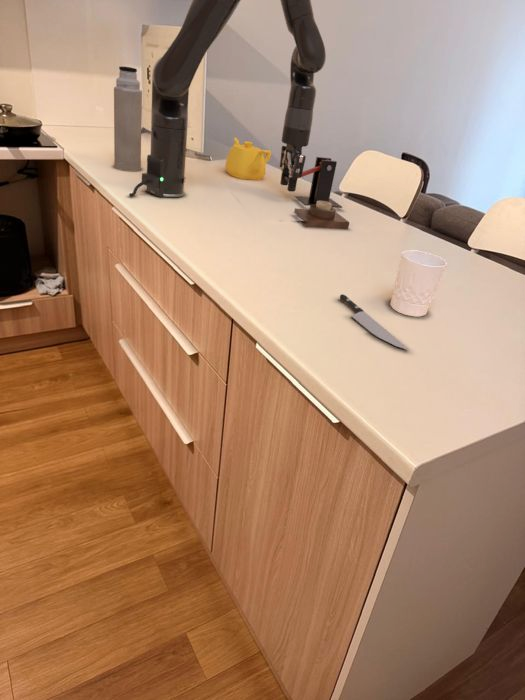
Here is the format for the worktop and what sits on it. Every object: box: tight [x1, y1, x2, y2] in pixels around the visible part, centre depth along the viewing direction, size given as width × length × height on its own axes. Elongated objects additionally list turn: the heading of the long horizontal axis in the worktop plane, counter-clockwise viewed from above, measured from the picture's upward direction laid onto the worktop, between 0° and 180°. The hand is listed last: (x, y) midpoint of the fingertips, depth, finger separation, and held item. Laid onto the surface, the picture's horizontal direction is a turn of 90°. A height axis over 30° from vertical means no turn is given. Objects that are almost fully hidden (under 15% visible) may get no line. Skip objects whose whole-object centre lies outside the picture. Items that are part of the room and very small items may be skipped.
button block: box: [293, 204, 350, 230], centre depth 135 cm, size 12×10×4 cm
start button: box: [316, 201, 332, 210], centre depth 134 cm, size 4×4×2 cm
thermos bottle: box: [113, 66, 143, 172], centre depth 152 cm, size 8×8×28 cm
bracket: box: [294, 156, 343, 209], centre depth 149 cm, size 12×9×13 cm
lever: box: [283, 159, 330, 182], centre depth 146 cm, size 14×6×2 cm, turn 106°
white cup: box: [389, 249, 448, 318], centre depth 92 cm, size 8×8×10 cm
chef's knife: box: [339, 293, 409, 351], centre depth 86 cm, size 19×1×3 cm
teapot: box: [225, 137, 272, 181], centre depth 172 cm, size 22×16×11 cm
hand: (287, 187), depth 147 cm, fingers closed on lever, 6 cm apart
